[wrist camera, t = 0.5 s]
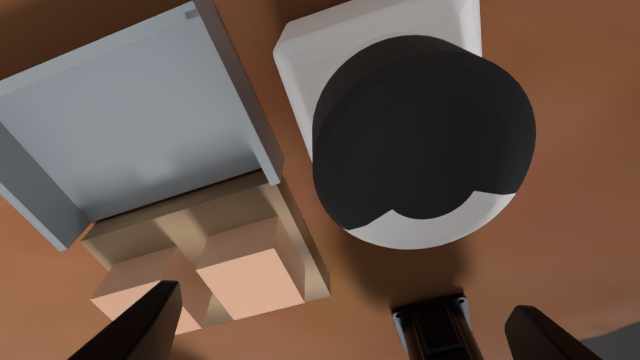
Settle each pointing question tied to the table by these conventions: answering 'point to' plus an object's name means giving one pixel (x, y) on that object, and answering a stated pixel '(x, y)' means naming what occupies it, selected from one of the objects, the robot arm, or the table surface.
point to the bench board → (209, 229)
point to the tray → (130, 123)
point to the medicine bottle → (406, 118)
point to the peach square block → (144, 274)
